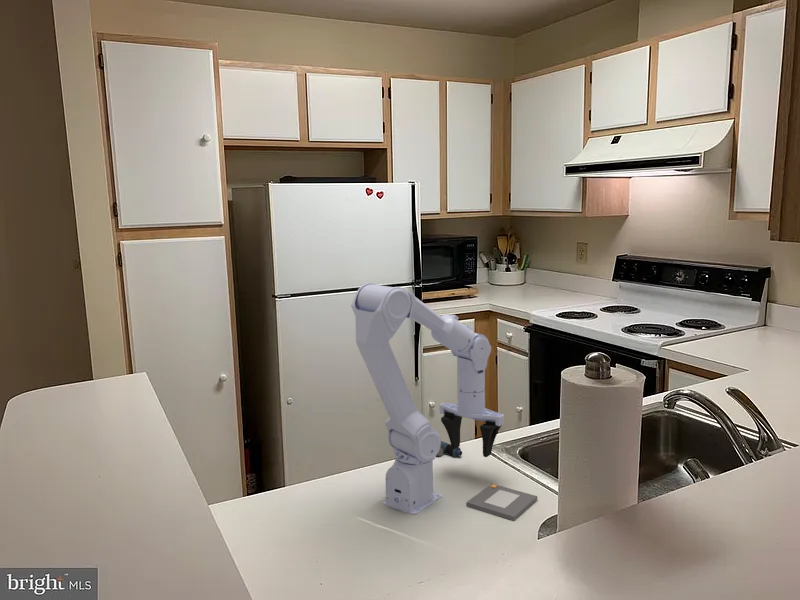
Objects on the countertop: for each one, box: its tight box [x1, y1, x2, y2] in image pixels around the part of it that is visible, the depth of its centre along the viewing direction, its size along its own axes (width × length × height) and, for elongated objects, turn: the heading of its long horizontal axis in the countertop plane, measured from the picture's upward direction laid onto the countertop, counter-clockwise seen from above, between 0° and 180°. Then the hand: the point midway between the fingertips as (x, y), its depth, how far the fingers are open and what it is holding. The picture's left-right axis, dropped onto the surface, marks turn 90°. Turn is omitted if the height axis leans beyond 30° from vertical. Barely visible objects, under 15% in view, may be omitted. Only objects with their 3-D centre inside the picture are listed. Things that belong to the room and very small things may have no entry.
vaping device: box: [436, 440, 463, 458], centre depth 145 cm, size 3×5×12 cm
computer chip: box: [465, 483, 538, 522], centre depth 120 cm, size 10×10×1 cm
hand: (471, 451), depth 131 cm, fingers open, 7 cm apart
